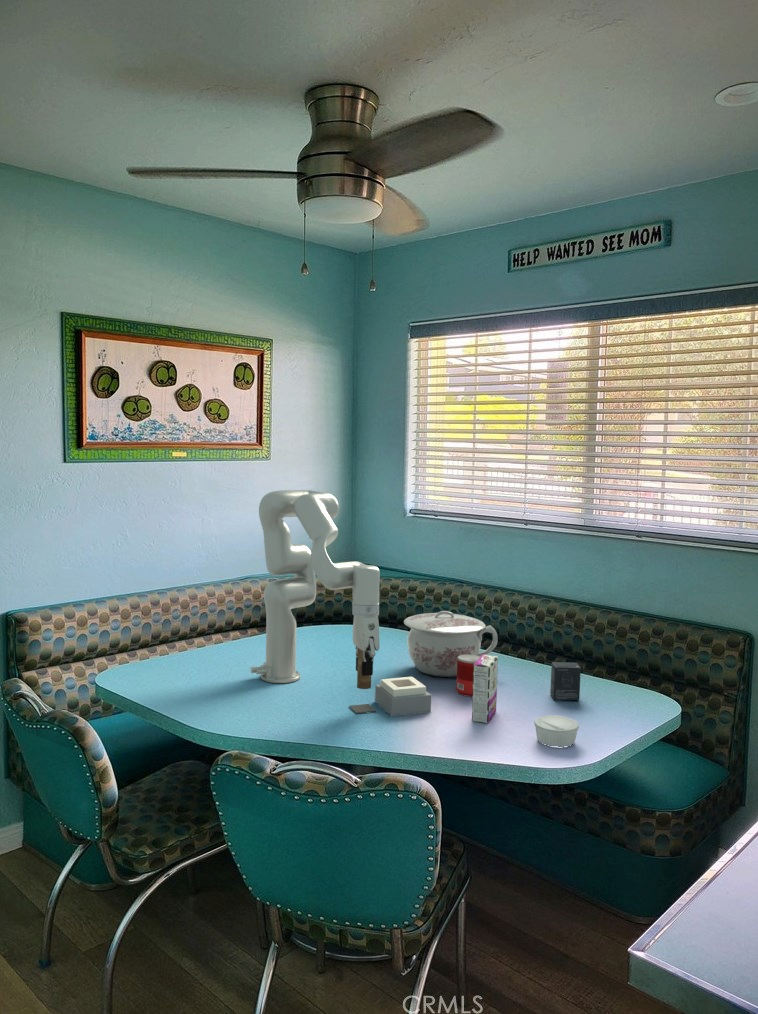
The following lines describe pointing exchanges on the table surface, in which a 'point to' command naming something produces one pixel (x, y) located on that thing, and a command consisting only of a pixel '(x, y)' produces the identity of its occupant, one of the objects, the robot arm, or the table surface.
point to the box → (565, 681)
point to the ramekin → (556, 730)
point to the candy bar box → (484, 688)
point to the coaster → (362, 708)
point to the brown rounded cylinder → (362, 681)
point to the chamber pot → (444, 641)
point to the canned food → (465, 674)
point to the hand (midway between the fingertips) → (364, 672)
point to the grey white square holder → (403, 696)
